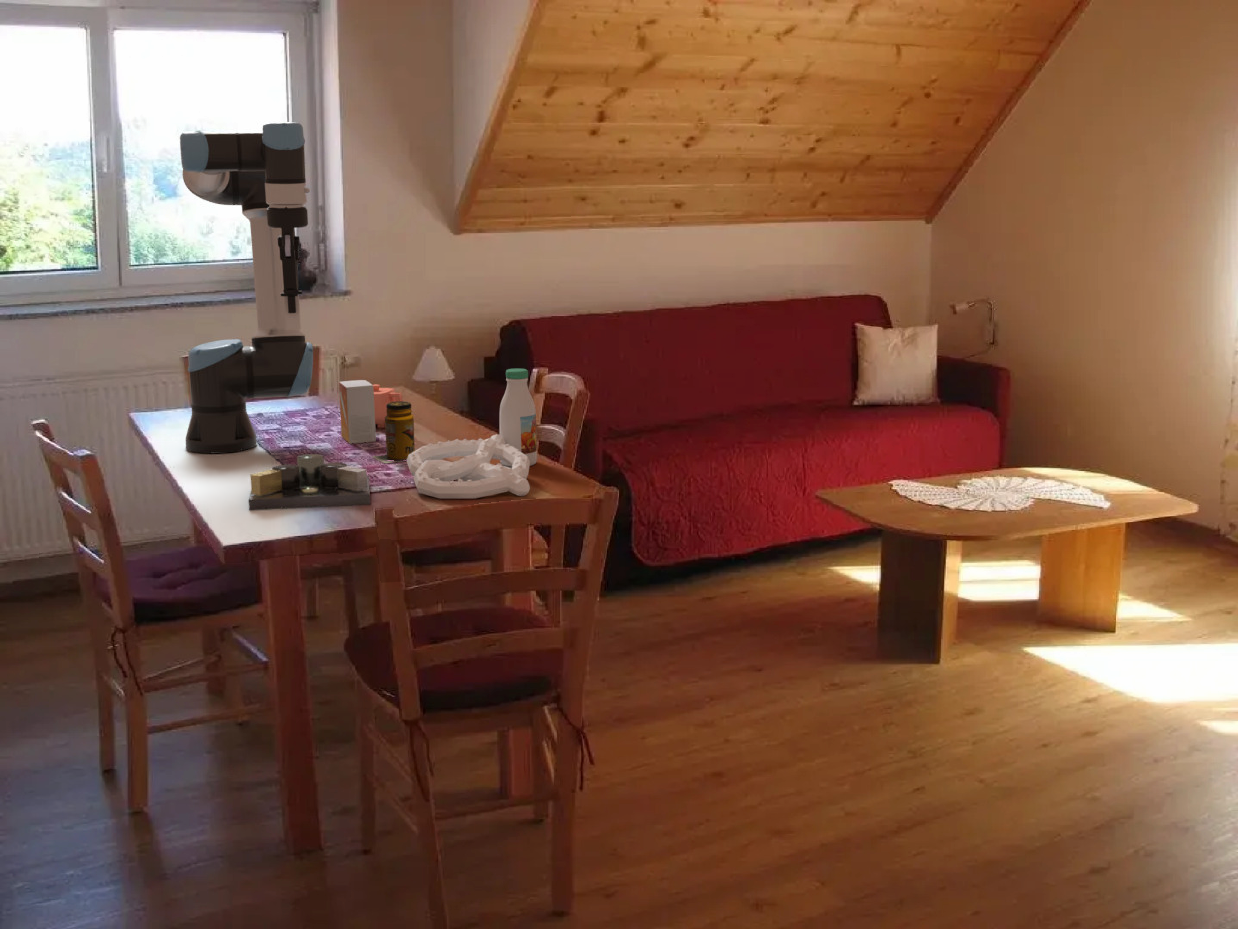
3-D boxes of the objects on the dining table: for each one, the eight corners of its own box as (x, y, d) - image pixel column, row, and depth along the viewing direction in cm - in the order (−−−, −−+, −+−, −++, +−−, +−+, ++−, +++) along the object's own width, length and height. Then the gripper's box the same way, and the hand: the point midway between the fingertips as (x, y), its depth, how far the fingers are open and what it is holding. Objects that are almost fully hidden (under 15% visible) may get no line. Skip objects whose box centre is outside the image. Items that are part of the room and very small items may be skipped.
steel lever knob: (335, 480, 272) (334, 461, 271) (372, 487, 266) (371, 468, 265) (315, 485, 268) (314, 466, 267) (352, 492, 262) (352, 473, 261)
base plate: (254, 490, 273) (252, 455, 272) (369, 485, 277) (367, 450, 275) (249, 510, 259) (246, 473, 257) (370, 504, 263) (368, 468, 261)
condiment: (422, 459, 299) (420, 404, 297) (385, 464, 295) (383, 408, 292) (407, 453, 305) (405, 398, 303) (371, 457, 301) (369, 402, 298)
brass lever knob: (246, 492, 262) (245, 473, 261) (287, 482, 270) (286, 463, 269) (265, 496, 259) (264, 477, 258) (305, 485, 267) (304, 466, 266)
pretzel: (545, 503, 269) (544, 472, 267) (422, 516, 263) (420, 484, 261) (516, 454, 294) (515, 425, 292) (403, 464, 288) (401, 435, 286)
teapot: (344, 422, 338) (342, 383, 335) (392, 418, 343) (390, 379, 341) (358, 431, 328) (356, 390, 325) (407, 426, 333) (405, 386, 330)
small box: (341, 437, 321) (338, 381, 318) (368, 435, 324) (365, 379, 321) (348, 444, 314) (345, 386, 311) (376, 441, 316) (374, 384, 313)
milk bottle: (508, 469, 290) (506, 373, 285) (494, 461, 297) (492, 368, 292) (542, 465, 293) (541, 371, 289) (528, 458, 300) (526, 365, 296)
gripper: (306, 208, 260) (312, 334, 266) (308, 202, 273) (314, 323, 279) (264, 208, 259) (271, 335, 265) (268, 203, 271) (275, 324, 277)
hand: (293, 328), depth 272 cm, fingers closed
